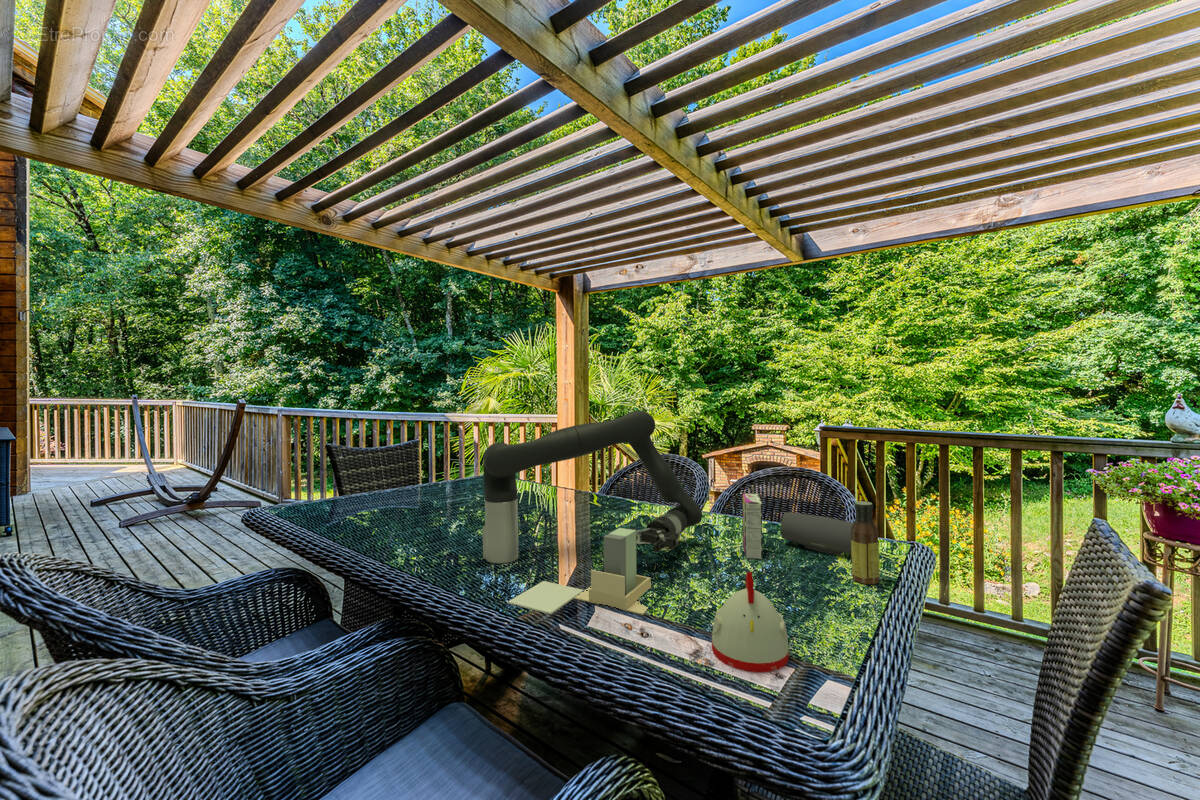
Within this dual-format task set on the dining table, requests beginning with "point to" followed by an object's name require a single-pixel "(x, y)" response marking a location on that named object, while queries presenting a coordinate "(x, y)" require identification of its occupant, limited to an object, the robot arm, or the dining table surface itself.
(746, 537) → the candy bar box
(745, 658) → the kitchen timer
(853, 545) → the sauce bottle
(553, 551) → the dining table surface
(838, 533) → the bluetooth speaker
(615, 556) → the slim sage box
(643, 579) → the tan open holder
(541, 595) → the mat
